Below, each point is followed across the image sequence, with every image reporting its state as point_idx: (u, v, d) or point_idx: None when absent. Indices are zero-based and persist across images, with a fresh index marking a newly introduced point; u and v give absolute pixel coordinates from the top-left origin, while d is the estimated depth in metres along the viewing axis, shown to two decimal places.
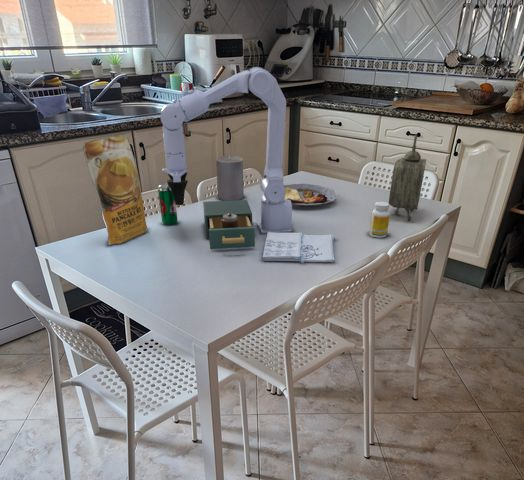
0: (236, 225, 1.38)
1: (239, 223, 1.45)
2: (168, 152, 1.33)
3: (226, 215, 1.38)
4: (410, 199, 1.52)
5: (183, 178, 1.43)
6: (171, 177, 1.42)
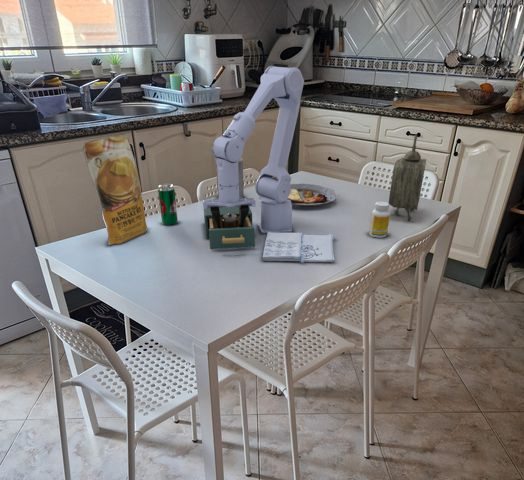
0: (236, 225, 1.38)
1: None
2: (228, 185, 1.30)
3: (226, 215, 1.38)
4: (410, 199, 1.52)
5: None
6: (219, 214, 1.35)
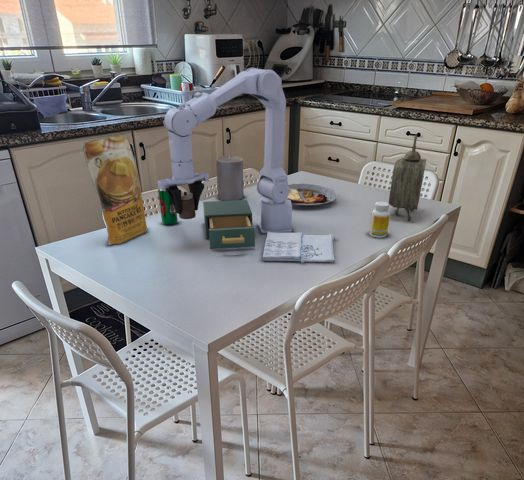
0: (194, 203, 1.32)
1: (239, 223, 1.45)
2: (179, 160, 1.24)
3: (181, 194, 1.31)
4: (410, 199, 1.52)
5: None
6: None
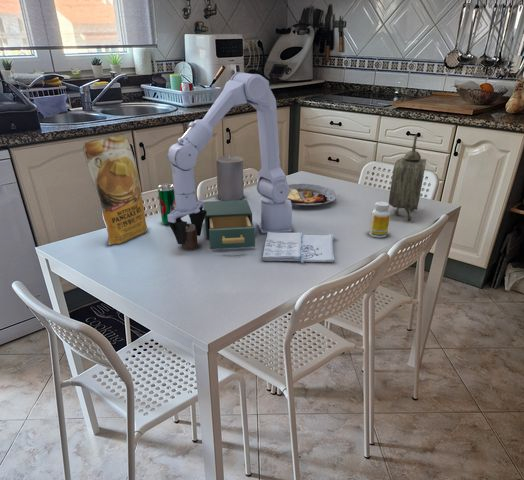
0: None
1: (239, 223, 1.45)
2: (182, 192, 1.28)
3: None
4: (410, 199, 1.52)
5: None
6: None
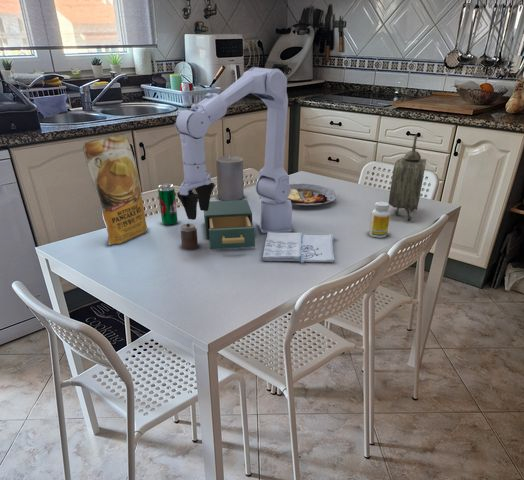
0: None
1: (239, 223, 1.45)
2: (193, 163, 1.21)
3: (184, 226, 1.36)
4: (410, 199, 1.52)
5: None
6: None
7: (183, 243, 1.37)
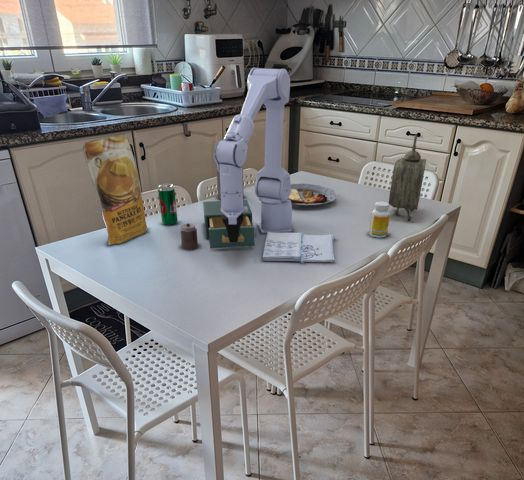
0: None
1: None
2: (235, 191, 1.21)
3: (184, 226, 1.36)
4: (410, 199, 1.52)
5: None
6: None
7: (183, 243, 1.37)
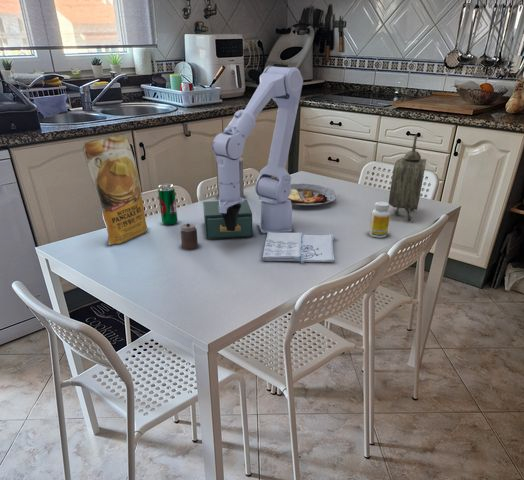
0: None
1: None
2: (229, 182, 1.28)
3: (184, 226, 1.36)
4: (410, 199, 1.52)
5: None
6: None
7: (183, 243, 1.37)
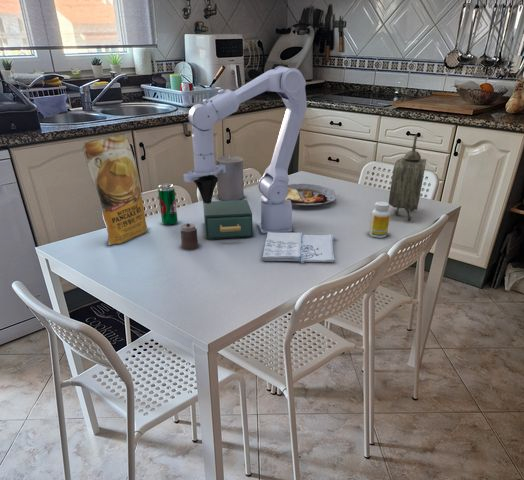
0: None
1: None
2: (199, 153, 1.30)
3: (184, 226, 1.36)
4: (410, 199, 1.52)
5: None
6: None
7: (183, 243, 1.37)
